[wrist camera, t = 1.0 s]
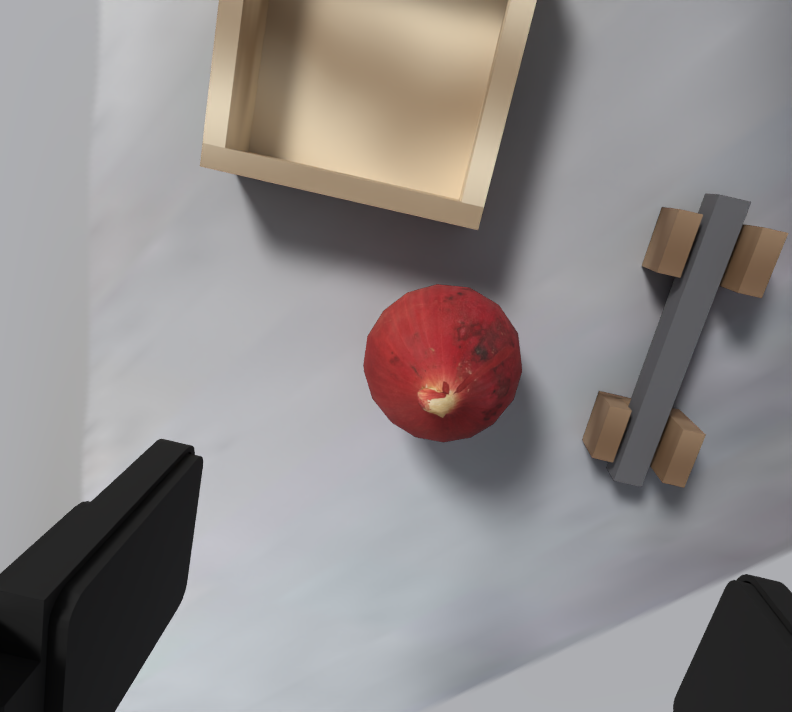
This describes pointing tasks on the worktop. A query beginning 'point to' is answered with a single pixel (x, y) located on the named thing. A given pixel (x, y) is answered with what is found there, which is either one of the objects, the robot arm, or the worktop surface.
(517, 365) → the onion
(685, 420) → the clip
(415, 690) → the worktop surface
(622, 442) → the gray square bar
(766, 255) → the clip
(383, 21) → the wooden tray
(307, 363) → the worktop surface
